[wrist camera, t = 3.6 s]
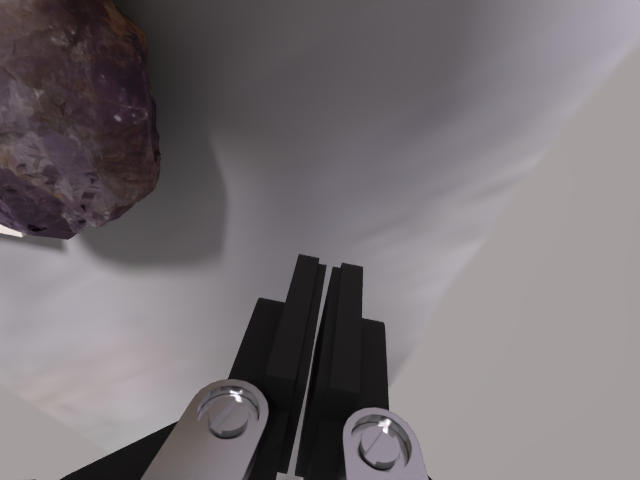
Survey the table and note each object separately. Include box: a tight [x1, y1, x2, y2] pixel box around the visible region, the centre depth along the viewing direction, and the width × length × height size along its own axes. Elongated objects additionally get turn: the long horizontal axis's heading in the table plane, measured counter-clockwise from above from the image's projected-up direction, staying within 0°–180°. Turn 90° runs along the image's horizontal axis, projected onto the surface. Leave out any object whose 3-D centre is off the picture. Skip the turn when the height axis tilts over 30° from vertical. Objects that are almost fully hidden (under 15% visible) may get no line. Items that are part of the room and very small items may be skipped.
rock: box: [0, 0, 161, 240], centre depth 18 cm, size 12×9×10 cm
